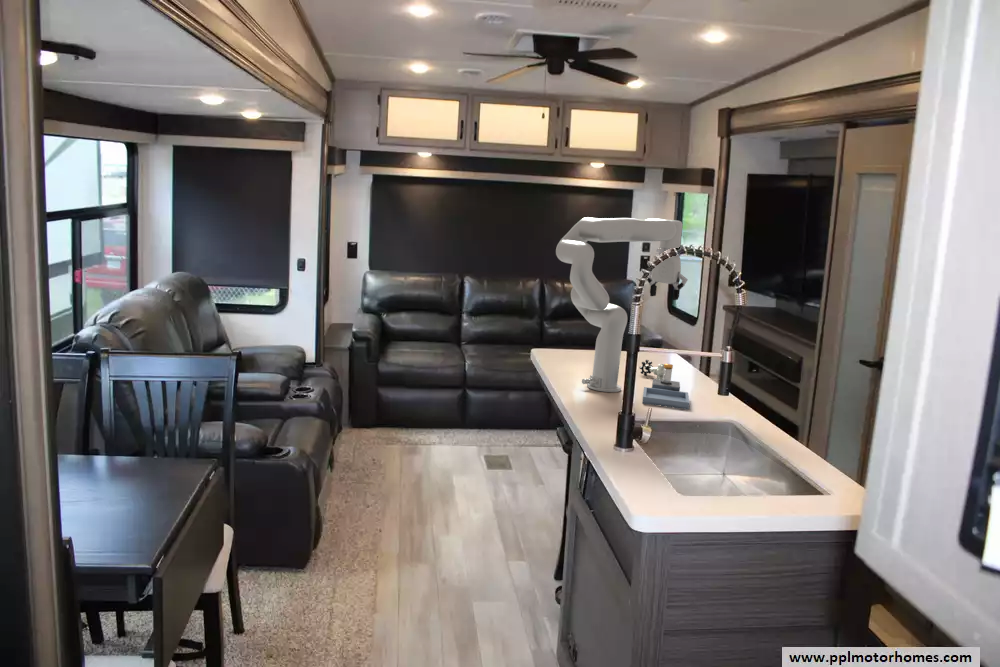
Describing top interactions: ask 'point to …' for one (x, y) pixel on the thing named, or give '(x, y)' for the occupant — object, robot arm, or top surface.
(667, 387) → the block
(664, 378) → the lock pin
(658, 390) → the parts tray
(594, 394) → the top surface
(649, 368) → the valve
